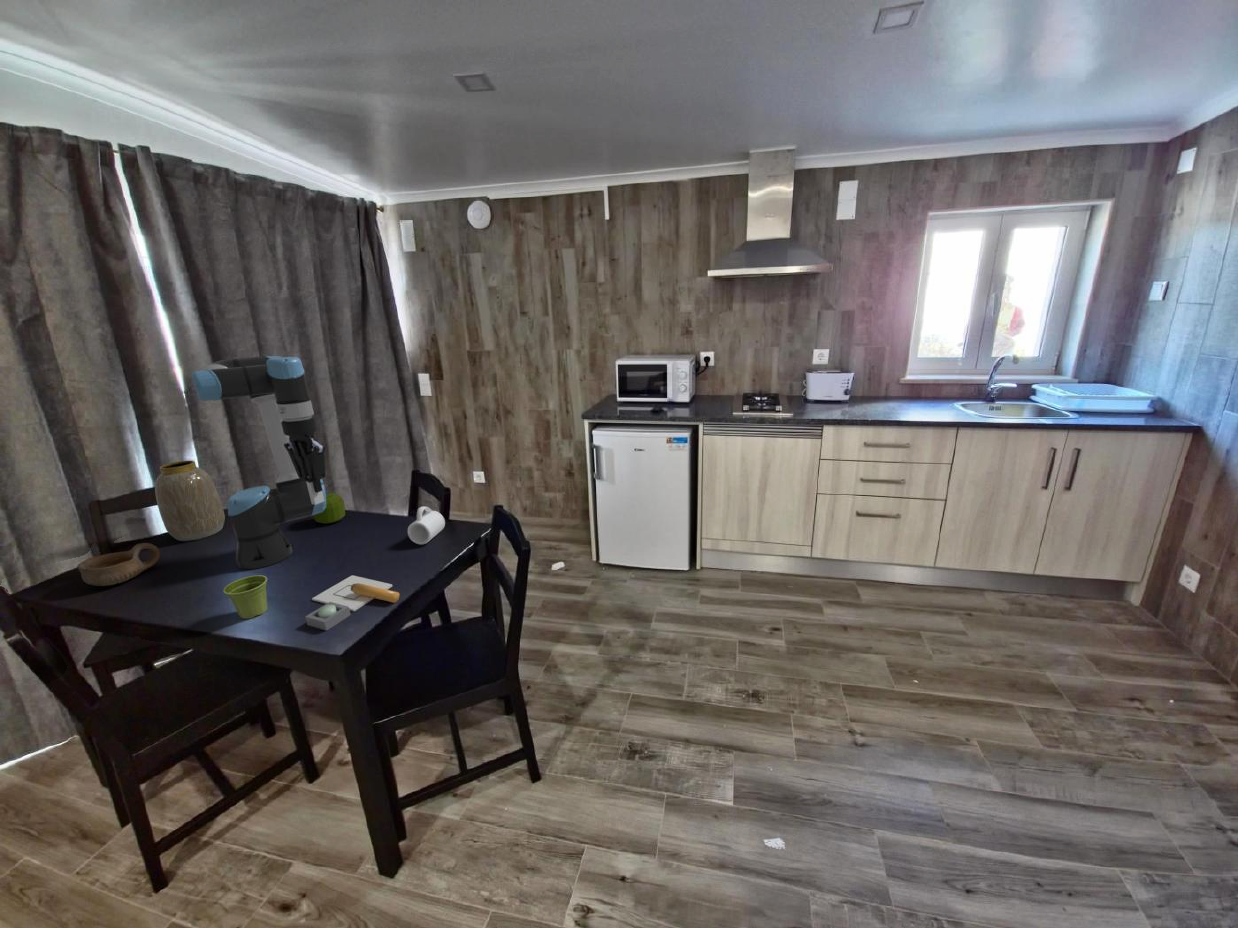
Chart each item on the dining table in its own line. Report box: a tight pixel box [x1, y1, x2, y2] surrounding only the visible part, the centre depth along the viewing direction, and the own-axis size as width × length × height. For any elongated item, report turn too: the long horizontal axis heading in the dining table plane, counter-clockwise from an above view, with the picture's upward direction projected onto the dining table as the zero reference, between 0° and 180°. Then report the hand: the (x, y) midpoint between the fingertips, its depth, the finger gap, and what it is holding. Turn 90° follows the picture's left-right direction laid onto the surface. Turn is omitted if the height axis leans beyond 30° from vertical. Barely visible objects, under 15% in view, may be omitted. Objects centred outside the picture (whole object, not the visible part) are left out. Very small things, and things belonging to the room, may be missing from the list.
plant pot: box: [222, 574, 268, 620], centre depth 132 cm, size 9×9×9 cm
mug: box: [407, 505, 446, 545], centre depth 171 cm, size 8×10×12 cm
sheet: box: [311, 574, 393, 612], centre depth 141 cm, size 16×13×1 cm
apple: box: [312, 493, 346, 525], centre depth 190 cm, size 11×11×11 cm
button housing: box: [305, 602, 352, 631], centre depth 128 cm, size 7×7×2 cm
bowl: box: [76, 542, 161, 587], centre depth 154 cm, size 18×14×10 cm
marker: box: [351, 583, 400, 604], centre depth 137 cm, size 3×3×14 cm
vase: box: [154, 460, 226, 542], centre depth 181 cm, size 17×17×27 cm
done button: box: [318, 605, 337, 619], centre depth 128 cm, size 4×4×3 cm
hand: (318, 502), depth 136 cm, fingers closed
